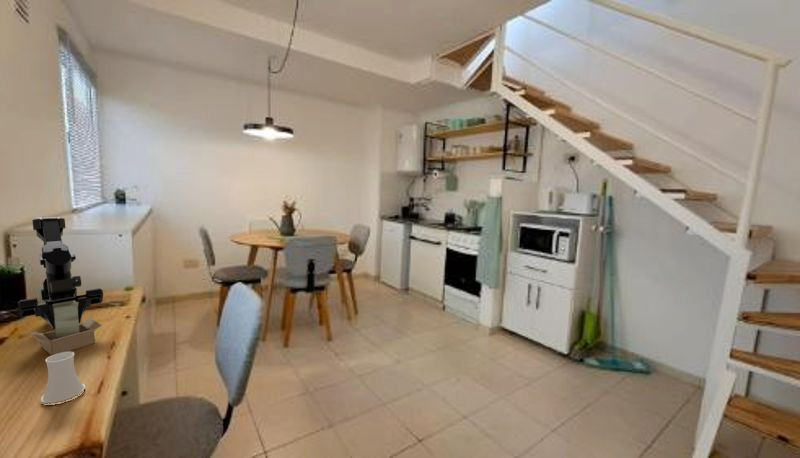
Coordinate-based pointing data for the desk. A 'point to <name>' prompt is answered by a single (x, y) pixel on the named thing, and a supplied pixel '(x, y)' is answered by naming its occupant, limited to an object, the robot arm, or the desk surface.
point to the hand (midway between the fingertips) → (66, 325)
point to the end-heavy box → (66, 319)
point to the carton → (68, 338)
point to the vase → (61, 379)
